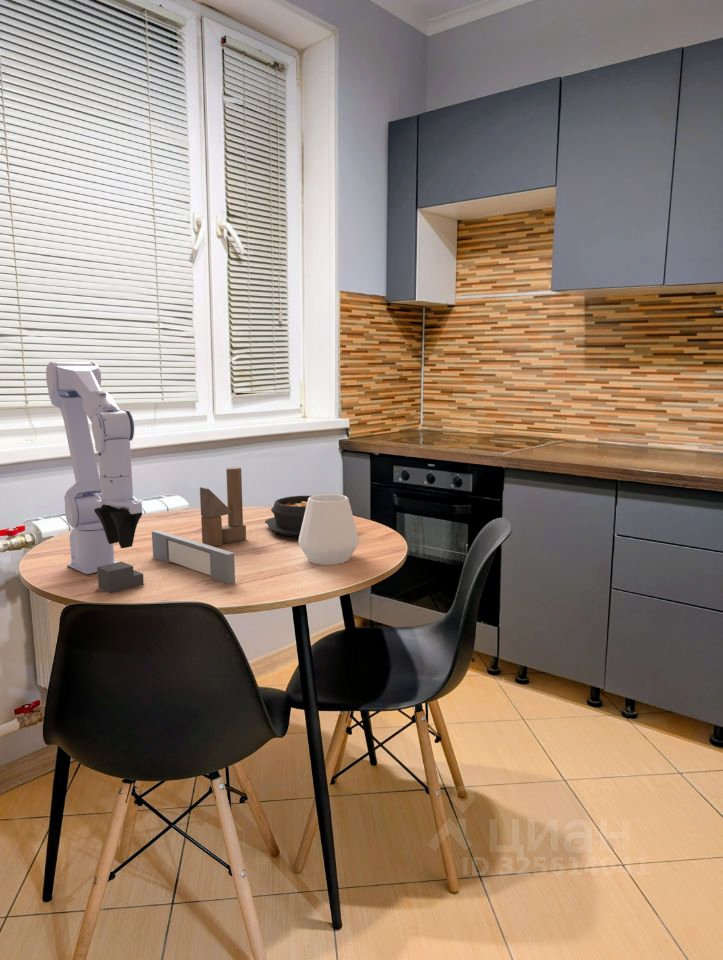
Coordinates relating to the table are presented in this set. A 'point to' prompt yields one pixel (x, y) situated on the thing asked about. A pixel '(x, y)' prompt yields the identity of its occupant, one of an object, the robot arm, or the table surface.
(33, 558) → the table surface
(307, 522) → the white faceted vase
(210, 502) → the brown wooden block structure
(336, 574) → the table surface
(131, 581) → the dark grey block
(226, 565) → the wall frame
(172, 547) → the door
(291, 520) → the casserole
